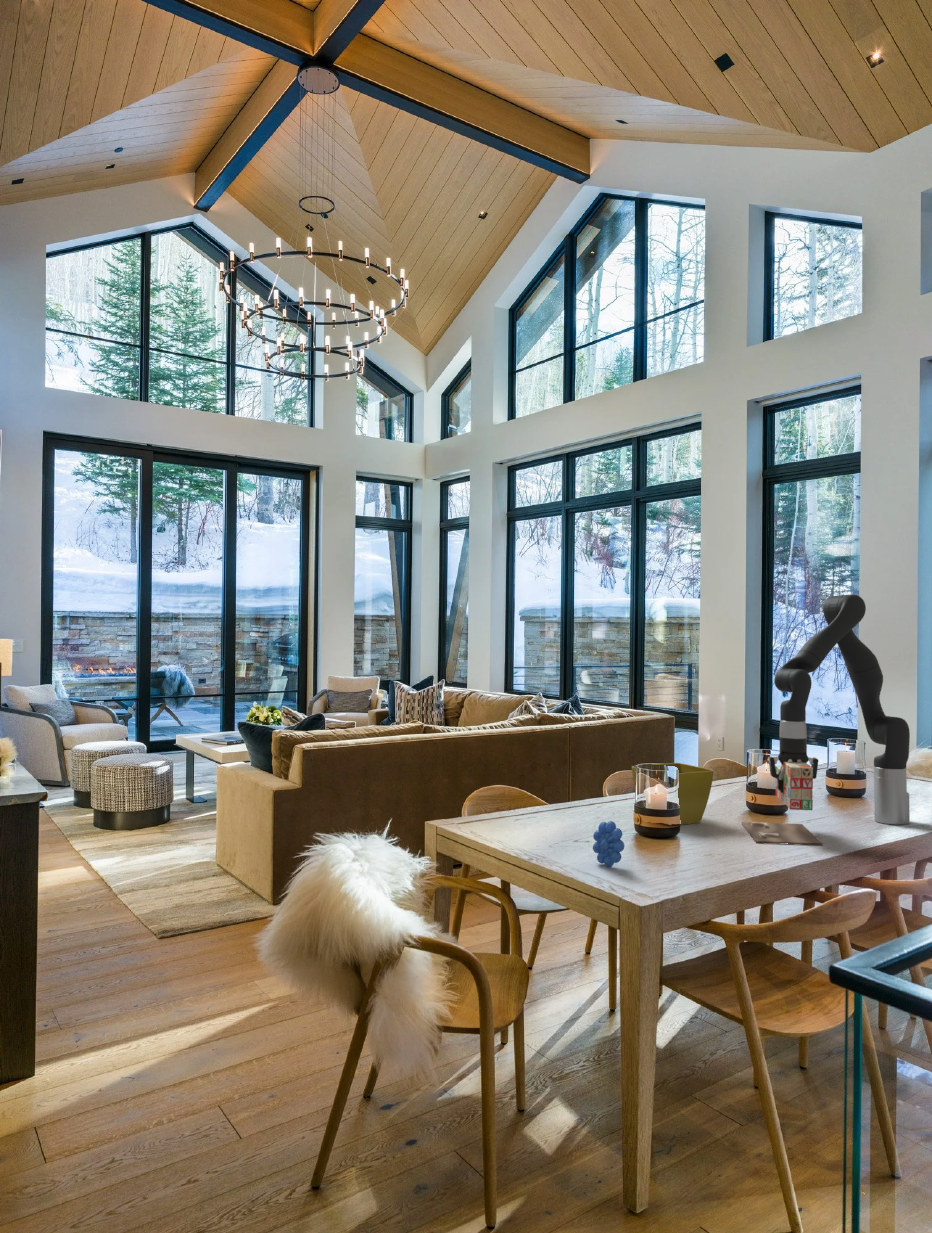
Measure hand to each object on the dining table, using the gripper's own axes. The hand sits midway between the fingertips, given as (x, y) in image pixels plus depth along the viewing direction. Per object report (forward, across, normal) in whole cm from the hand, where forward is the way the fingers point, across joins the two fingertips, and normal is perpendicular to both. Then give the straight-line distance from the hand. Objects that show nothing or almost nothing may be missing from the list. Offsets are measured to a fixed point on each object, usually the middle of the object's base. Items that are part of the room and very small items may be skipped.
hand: (793, 792), depth 246 cm
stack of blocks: (+3, 0, 0) cm, 3 cm away
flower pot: (+13, +34, -14) cm, 39 cm away
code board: (+13, +4, 0) cm, 13 cm away
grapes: (+13, +54, +42) cm, 70 cm away
